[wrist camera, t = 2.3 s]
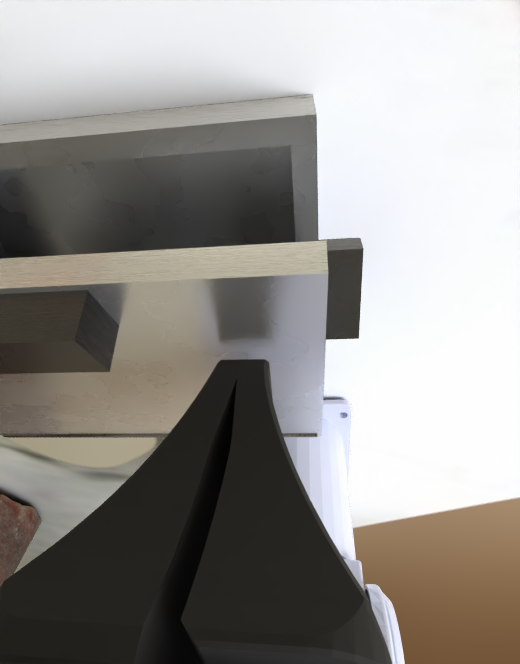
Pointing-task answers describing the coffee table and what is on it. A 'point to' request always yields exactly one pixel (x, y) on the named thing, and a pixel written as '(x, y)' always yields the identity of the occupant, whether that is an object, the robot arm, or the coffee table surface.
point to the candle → (15, 534)
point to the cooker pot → (174, 187)
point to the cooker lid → (157, 336)
